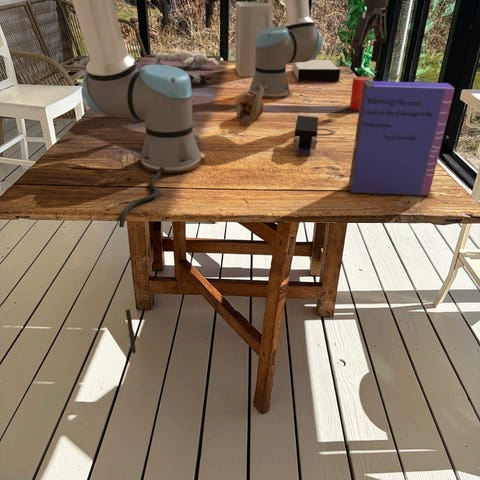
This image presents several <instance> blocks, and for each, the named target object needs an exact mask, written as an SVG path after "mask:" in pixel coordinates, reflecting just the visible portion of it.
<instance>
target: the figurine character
mask: <svg viewBox="0 0 480 480" xmlns="http://www.w3.org/2000/svg"><path fill="white" fill-rule="evenodd" d="M318 128H319V117H317V116H306V115H297V117H296V122H295V129H294V137H293V140H292V142H293V144H292V146H293V149H294V150H297V155H299V156H300V155H301V152H307V155H308V156H311V154H312V151H316V147H317V144H318V140H317V139H318V130H319V129H318Z"/></svg>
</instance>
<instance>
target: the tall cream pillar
mask: <svg viewBox="0 0 480 480" xmlns="http://www.w3.org/2000/svg"><path fill="white" fill-rule="evenodd" d="M273 8H274V4H273V3H269V2H267V3H266V2H265V3H264V2H252V1H235V59H234V60H235V62H234V63H235V65H234V66H235V68H234V69H235V71H236V73H237V75H238V77H239V78H253V77H254V74H255V57H256V45H255V43H256V36H257V33H258V32H259V31H260V30H262V29H264V28H268V27H273V10H274V9H273Z"/></svg>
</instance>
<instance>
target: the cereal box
mask: <svg viewBox="0 0 480 480" xmlns="http://www.w3.org/2000/svg"><path fill="white" fill-rule="evenodd" d="M454 93H455V88H454V86H453V85H452V84H450V83H448V82H419V81H417V82H415V81H386V80H385V81H381V80H369V81H363V87H362V94H361V101H360V108H359V110H358V115H357V123H356V130H355V137H354V144H353V151H352V158H351V164H350V172H349V177H348V178H349V179H348V187H349V190H350V193H351V194H373V195H395V196H397V195H398V196H420V197H421V196H423V197H430V193H431V190H432V189H431V188H432V185H433V180H434V176H435V172H436V168H437V164H438V160H439V156H440V152H441V147H442V143H443V139H444V135H445V132H446V126H447V123H448V119H449V118H448V117H449V115H450V110H451V106H452V103H453V97H454Z"/></svg>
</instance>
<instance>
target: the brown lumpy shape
mask: <svg viewBox="0 0 480 480" xmlns="http://www.w3.org/2000/svg"><path fill="white" fill-rule="evenodd" d="M256 89H257V90H259V91H258V93H257V95H255V94H250V92H247V91H245V92H243V93H242V94H241V96H240V97H239V98H238V100H237V101H236V102H235V106H234V107H235V111H236V115H235V119H236V120H240V122H239V125H240V126H245V127H247V126H248V125H250V123H252V122H254V121H255V120H256V119H257V118H258V117H260V116H262V114H263V112H264V106H265V105H264V103H263V101H262V99H263V98H262V96H263V94H264V88H263V86H262V85H260V84H258V85H256Z"/></svg>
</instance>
